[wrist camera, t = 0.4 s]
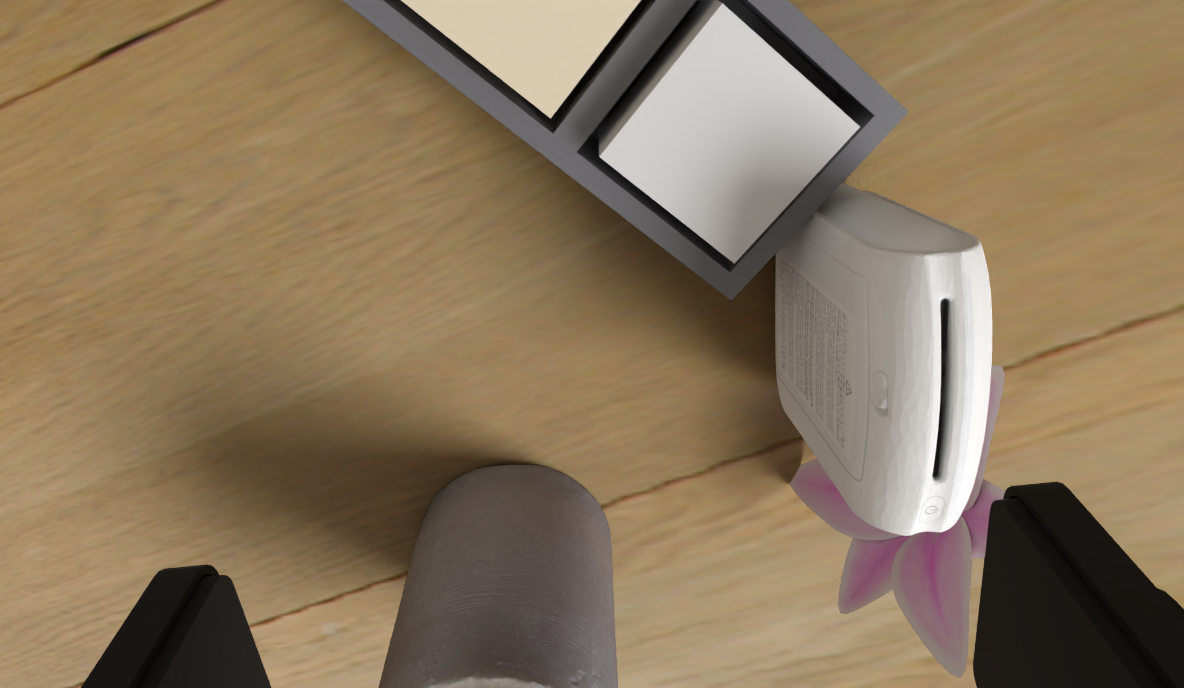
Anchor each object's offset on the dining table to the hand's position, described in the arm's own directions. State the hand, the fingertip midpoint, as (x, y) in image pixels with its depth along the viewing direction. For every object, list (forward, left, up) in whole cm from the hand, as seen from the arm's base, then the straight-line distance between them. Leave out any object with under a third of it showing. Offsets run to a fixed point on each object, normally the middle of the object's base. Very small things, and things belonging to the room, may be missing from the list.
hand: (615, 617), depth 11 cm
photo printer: (-1, +12, -26) cm, 28 cm away
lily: (+3, +21, -27) cm, 34 cm away
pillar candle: (+18, +10, -27) cm, 34 cm away
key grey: (-4, +2, -24) cm, 24 cm away
